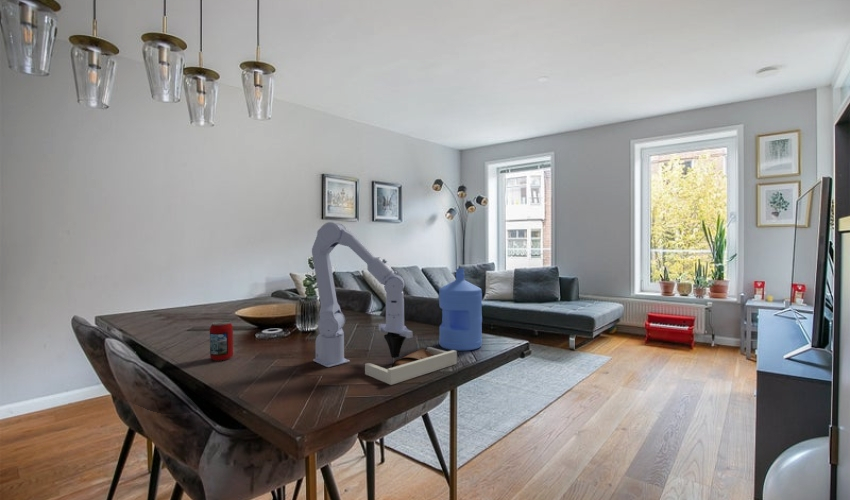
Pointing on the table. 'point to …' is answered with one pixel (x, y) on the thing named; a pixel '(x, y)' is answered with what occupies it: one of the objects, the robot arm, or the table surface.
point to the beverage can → (221, 340)
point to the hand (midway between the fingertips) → (395, 356)
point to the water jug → (460, 314)
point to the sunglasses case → (412, 357)
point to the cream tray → (413, 367)
